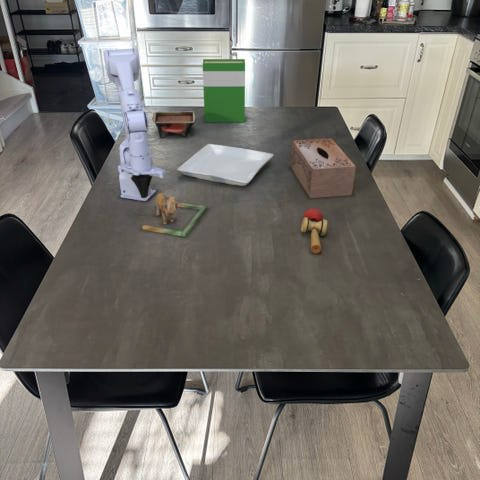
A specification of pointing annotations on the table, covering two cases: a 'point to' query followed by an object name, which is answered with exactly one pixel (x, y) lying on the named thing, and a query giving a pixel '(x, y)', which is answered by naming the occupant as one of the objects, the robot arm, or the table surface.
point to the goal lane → (188, 227)
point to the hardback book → (224, 90)
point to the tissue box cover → (322, 168)
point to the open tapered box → (174, 122)
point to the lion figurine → (166, 206)
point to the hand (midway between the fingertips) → (144, 196)
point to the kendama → (314, 227)
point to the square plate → (225, 164)
